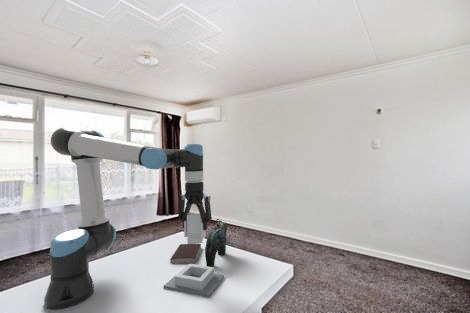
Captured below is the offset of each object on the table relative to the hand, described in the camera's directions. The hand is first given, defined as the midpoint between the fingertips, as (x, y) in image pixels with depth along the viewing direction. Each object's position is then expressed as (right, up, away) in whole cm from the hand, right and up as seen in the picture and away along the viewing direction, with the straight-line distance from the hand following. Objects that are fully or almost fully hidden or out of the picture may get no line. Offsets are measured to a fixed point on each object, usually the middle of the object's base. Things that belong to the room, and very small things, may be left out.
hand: (194, 236), depth 96 cm
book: (-9, -20, +27) cm, 35 cm away
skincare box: (0, -2, 0) cm, 2 cm away
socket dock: (0, -19, 0) cm, 19 cm away
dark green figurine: (+8, -19, +22) cm, 30 cm away
